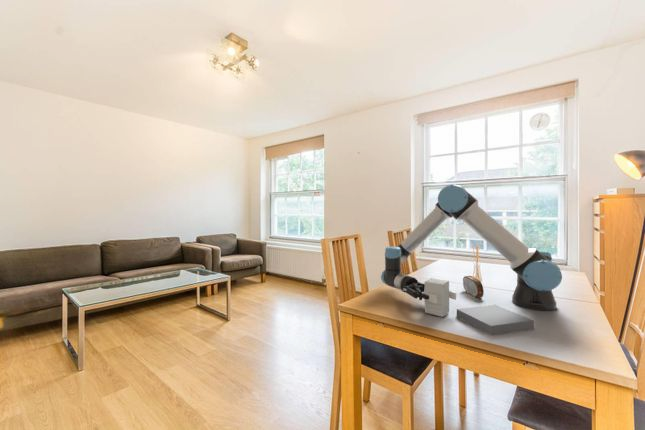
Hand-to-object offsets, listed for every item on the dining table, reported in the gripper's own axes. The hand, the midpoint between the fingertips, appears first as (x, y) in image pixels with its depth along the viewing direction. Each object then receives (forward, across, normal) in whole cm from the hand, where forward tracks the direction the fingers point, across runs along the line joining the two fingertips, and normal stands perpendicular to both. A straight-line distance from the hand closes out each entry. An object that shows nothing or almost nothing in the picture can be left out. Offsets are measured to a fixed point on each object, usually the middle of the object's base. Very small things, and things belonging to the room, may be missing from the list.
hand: (446, 298), depth 107 cm
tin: (-15, -33, -8) cm, 37 cm away
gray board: (+11, -12, -8) cm, 17 cm away
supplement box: (-4, 0, -7) cm, 9 cm away
